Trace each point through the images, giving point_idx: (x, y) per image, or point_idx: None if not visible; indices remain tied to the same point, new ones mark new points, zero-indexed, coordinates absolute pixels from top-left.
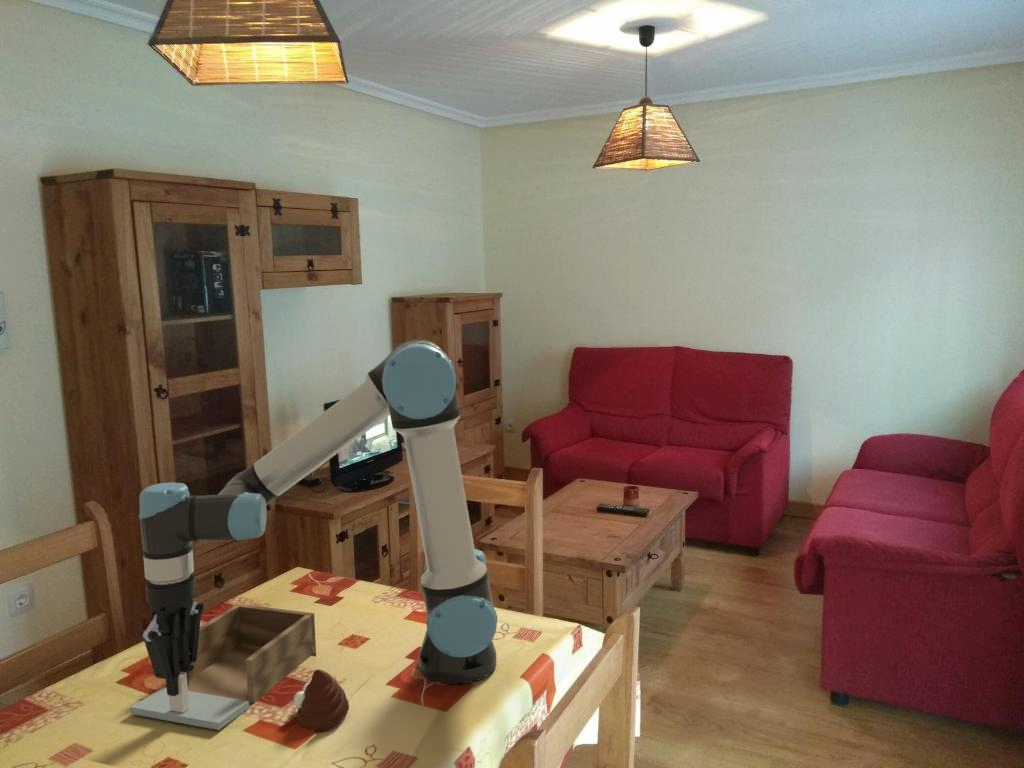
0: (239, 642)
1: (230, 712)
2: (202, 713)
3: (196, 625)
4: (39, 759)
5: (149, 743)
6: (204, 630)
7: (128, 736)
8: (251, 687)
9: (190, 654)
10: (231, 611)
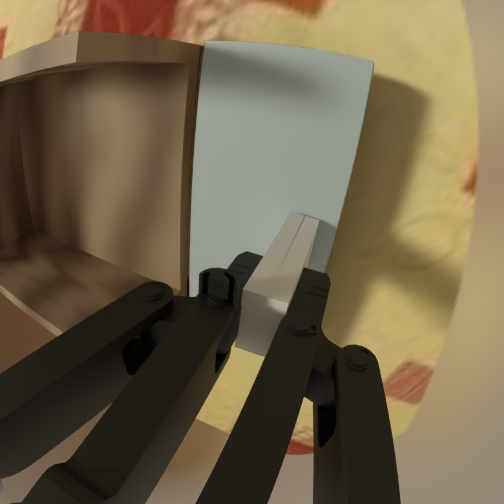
0: (33, 231)
1: (289, 55)
2: (312, 152)
3: (3, 404)
4: (415, 412)
5: (399, 264)
6: (35, 306)
7: (363, 320)
8: (159, 45)
9: (149, 326)
10: None
